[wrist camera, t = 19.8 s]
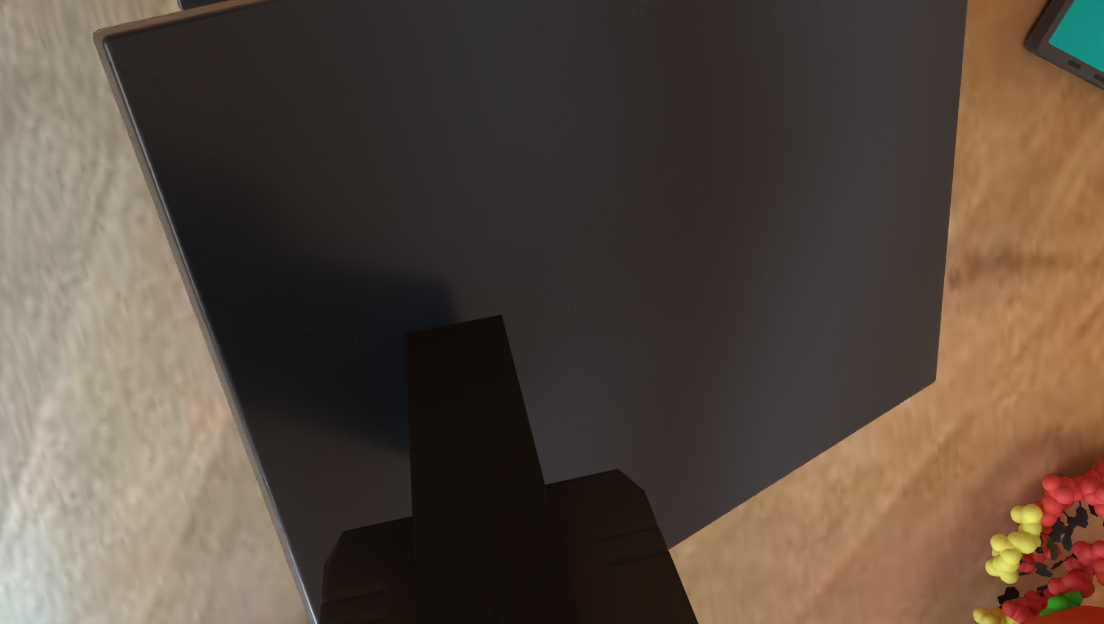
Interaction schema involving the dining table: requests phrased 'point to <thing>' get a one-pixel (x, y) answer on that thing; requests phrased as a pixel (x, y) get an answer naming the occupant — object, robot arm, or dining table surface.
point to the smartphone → (1072, 38)
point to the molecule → (1050, 556)
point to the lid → (552, 228)
